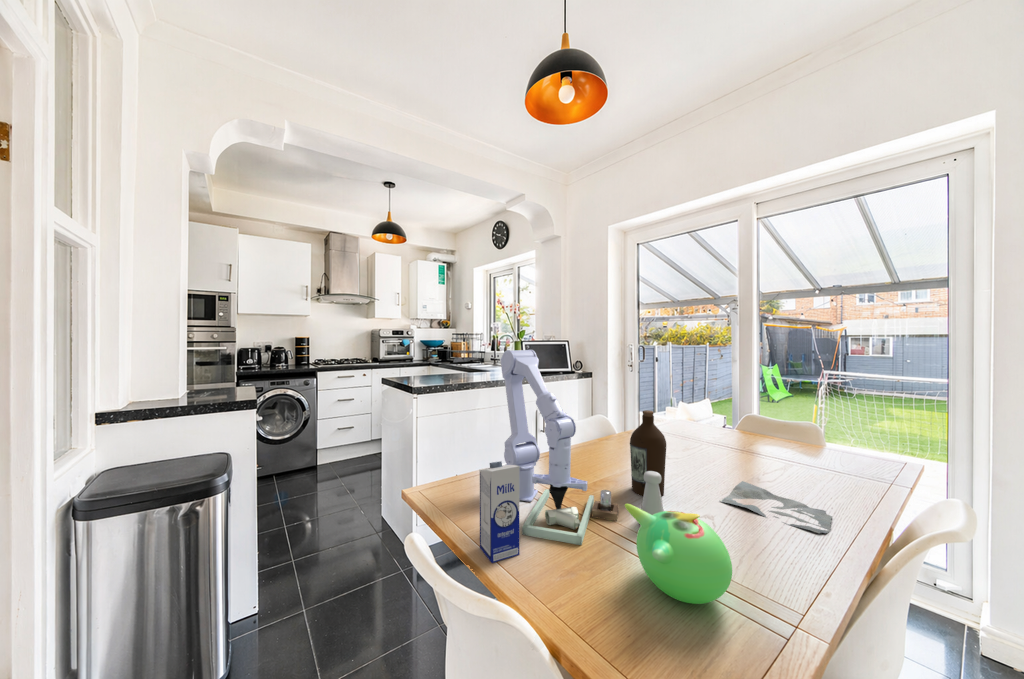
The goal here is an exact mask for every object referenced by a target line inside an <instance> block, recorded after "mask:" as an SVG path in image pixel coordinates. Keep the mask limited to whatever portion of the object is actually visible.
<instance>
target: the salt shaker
mask: <svg viewBox="0 0 1024 679" xmlns="http://www.w3.org/2000/svg"><path fill="white" fill-rule="evenodd" d="M661 479H662V478H661V475H660V474H659V473H658V472H654V471H647V472H645V473H644V481H645V482H646V485H645V490H644V496H642V501H641V508H640V509H641V510H643V511H645V512H647V513H649V514H651V515H653V514H656V513H659V512H663V511H665V510H664V509H665V508H664V505H663V501H662V496H661V494H660V489H659V483H661Z"/></svg>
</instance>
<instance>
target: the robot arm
mask: <svg viewBox="0 0 1024 679" xmlns="http://www.w3.org/2000/svg"><path fill="white" fill-rule="evenodd" d="M539 362H540V360H539V358H538V356H537V353H536V351H535V350H534V349H519V350H511V349H507V350H505V351H504V352H503V353H502V355H501V358H500V366H501V373H502V374H501V375H502V378H503V379H504V385H505V387H504V388H505V393H506V394H505V395H506V400H507V409H508V411H507V412H508V416H509V425H510V426H509V427H510V431H511V432H510V434H511V435H510V436H509V437H508V438H507V439H506V440H505V441H504V452H503V458H504V461H505V463H506V464H504V465H517V466H520V467H519V501H523V502H529V503H531V502H532V501H533V500H534V498H535V497H536V495H537V494H538V493H539V490H538V489H535V484H541V485H547V486H549V489H548V490H549V495H551V496H550V497H551V498H552V500H553V502H554V506H555V509H562V504H563V501H564V498H565V495H566V493H567V492H568V489H576V490H581V491H582V492H587V490H588V480H582V479H578V478H576V477H571V463H572V462H571V460H572V458H571V456H572V455H571V454H572V453H571V452H572V446H571V444H572V437H574V436H575V435H576V431H577V426H576V422H575V421H574V420H575V419H574V418H573V417H572V416H570V415H568V413H566V412H564V410H563V409H562V407H561V405H560V402H559V401H558V399H557V396H556V395H555V394H554V393H553V392H549V390H548V388H547V386H546V383H545V381H544V379H543V376H542V374H541V372H540V368H539V364H540V363H539ZM524 379H525V380H526V381H527V382H528V385H529V386H530V388H531V389H532V391H533V393H534V394H535V396H536V400H535V404H536V406H537V409H538V411H539V412H540V415H541V417H542V419H543V420H544V423H545V427H544V433H545V436H546V439H547V440H546V441H547V445H548V474H537V473H535V467H536V466H537V462H538V461H539V460H540V457H541V456H540V455H541V451H540V448H539V446H538V443H537V438H536V437H535V436H534V435H533V434H531V433H530V432H529V426H528V417H527V409H526V405H525V404H526V402H525V397H524V396H525V395H524V389H523V380H524Z"/></svg>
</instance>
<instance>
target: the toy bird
mask: <svg viewBox="0 0 1024 679" xmlns="http://www.w3.org/2000/svg"><path fill="white" fill-rule="evenodd" d="M624 507H625V509H626V510H627V512H628V513H629V515H631V516H632V518H633V519H635V521H636V522H637V523H638V524H639V525H640V527H639V529H638V531H637V534H636V541H635V542H636V551H637V556H638V559H639V563H640V564H641V566H642V569H643V570H644V572H645V574H646V576H647V577H648V578H649V580H650V581H651V582H652V583H653V584H654V585H655V586H656V587H657V588H658V589H659V590H660V591H662V593H664V594H666V595H667V596H669V598H670V597H671V598H673V599H675V600H677V601H680V602H682V603H686V604H691V605H692V604H693V605H703V604H709V603H712V602H714V601H716V600H718V599H719V598H721V597H722V596H723V595H725V593H726V592H727V591H728V588H729V587H730V585H731V581H732V577H733V565H732V559H731V556H730V554H729V551H728V549H727V547H726V545H725V542H723V540H722V538H721V537H720V535H719V534H718V533H717V532H716V531H715V530H714V529H713V528H712V527H711V526H710V525H708V523H706V522H705V521H703V520H701V519H700V517H701V515H700V514H698V513H692V512H690V513H689V512H684V511H683V512H682V511H678V510H664V511H663V512H659V513H656V514H653V515H651V514H649V513H647V512H645V511H643V510H641V508H639V507H638V506H635V505H633V504H631V503H625V504H624Z"/></svg>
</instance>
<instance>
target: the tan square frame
mask: <svg viewBox="0 0 1024 679" xmlns="http://www.w3.org/2000/svg"><path fill="white" fill-rule="evenodd" d="M600 505H601V500H600V501H599V500H594V504H593V507H592V511H591V518H593V519H603V520H607V521H614V522H618V516H619V503H614V502H611V511H605V510H600Z"/></svg>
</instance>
